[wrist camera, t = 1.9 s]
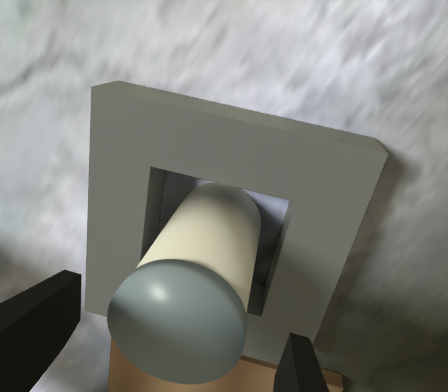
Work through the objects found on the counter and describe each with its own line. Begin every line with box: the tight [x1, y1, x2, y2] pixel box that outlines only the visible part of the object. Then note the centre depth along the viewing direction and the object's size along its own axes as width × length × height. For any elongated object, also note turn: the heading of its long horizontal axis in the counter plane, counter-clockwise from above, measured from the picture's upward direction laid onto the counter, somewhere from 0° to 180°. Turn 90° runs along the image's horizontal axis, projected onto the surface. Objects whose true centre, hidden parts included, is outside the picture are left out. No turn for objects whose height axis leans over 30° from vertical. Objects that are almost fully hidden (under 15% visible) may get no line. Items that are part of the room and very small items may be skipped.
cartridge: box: [107, 182, 261, 385], centre depth 15 cm, size 5×5×8 cm
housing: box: [85, 81, 388, 365], centre depth 18 cm, size 12×12×2 cm
